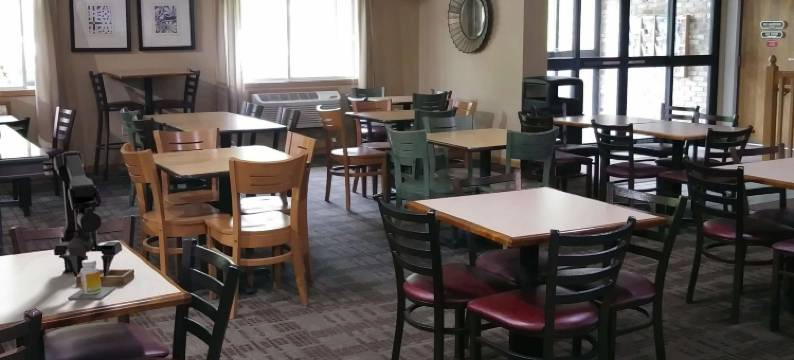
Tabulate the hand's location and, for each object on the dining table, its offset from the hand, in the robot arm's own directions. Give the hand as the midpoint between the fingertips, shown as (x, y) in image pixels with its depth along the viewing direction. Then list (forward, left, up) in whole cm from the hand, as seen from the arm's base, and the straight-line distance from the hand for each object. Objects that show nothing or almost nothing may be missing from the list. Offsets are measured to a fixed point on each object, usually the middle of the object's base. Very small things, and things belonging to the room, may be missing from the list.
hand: (90, 276), depth 257 cm
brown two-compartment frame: (-2, +13, -6) cm, 14 cm away
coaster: (0, 0, -6) cm, 6 cm away
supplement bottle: (0, 0, -5) cm, 5 cm away
